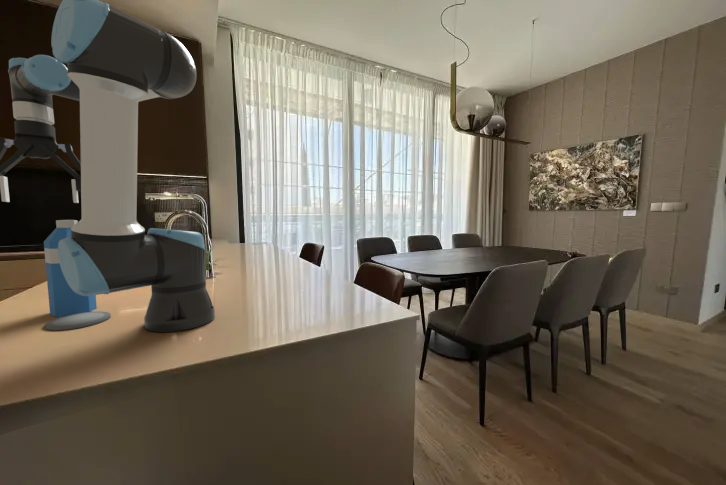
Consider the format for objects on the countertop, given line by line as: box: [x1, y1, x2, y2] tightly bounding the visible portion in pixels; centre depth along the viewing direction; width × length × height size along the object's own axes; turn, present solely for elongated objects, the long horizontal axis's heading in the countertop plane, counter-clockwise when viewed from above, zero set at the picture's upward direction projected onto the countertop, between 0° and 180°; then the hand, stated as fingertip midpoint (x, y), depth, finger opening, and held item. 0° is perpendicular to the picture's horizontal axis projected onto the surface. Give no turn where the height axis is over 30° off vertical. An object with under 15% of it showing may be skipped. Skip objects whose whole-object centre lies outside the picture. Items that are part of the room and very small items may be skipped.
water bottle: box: [43, 219, 98, 318], centre depth 83 cm, size 9×9×25 cm
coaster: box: [44, 310, 111, 332], centre depth 76 cm, size 12×12×1 cm
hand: (42, 202), depth 84 cm, fingers open, 13 cm apart
